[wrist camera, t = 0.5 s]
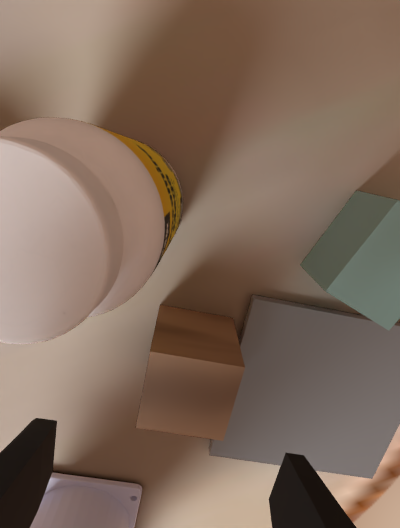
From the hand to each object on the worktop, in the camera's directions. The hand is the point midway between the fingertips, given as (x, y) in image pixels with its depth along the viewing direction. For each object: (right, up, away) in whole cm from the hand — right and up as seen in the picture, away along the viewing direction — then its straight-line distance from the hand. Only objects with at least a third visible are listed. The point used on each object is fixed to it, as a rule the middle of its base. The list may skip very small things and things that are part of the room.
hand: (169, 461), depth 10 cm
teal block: (+10, +7, +9) cm, 15 cm away
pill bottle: (-3, +10, +8) cm, 13 cm away
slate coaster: (+9, -2, +12) cm, 15 cm away
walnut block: (0, +1, +10) cm, 11 cm away
